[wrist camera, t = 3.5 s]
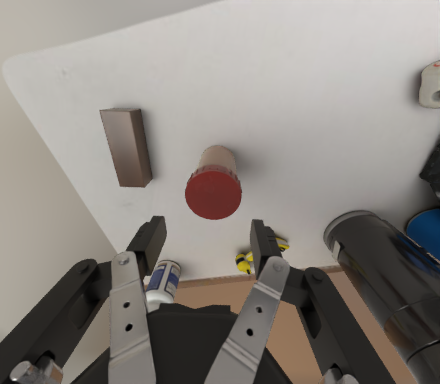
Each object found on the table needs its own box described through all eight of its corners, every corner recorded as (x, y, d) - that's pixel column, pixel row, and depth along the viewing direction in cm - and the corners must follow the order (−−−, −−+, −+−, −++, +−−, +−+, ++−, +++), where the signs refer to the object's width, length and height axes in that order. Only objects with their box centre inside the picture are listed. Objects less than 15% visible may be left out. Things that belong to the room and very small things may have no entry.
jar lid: (243, 164, 18) (244, 171, 16) (238, 211, 21) (239, 221, 19) (186, 162, 18) (182, 169, 17) (189, 209, 21) (186, 219, 19)
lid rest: (140, 109, 23) (129, 111, 21) (152, 178, 28) (144, 187, 26) (113, 108, 24) (98, 110, 21) (129, 178, 28) (119, 186, 26)
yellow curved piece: (263, 226, 31) (273, 244, 28) (282, 234, 35) (292, 250, 32) (225, 256, 35) (230, 274, 32) (246, 260, 38) (252, 277, 36)
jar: (236, 146, 25) (241, 172, 17) (234, 179, 28) (237, 216, 20) (199, 144, 25) (186, 170, 17) (200, 178, 28) (189, 214, 20)
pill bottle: (155, 273, 39) (135, 323, 31) (157, 257, 37) (136, 306, 28) (179, 278, 40) (166, 329, 31) (183, 262, 37) (170, 312, 29)
